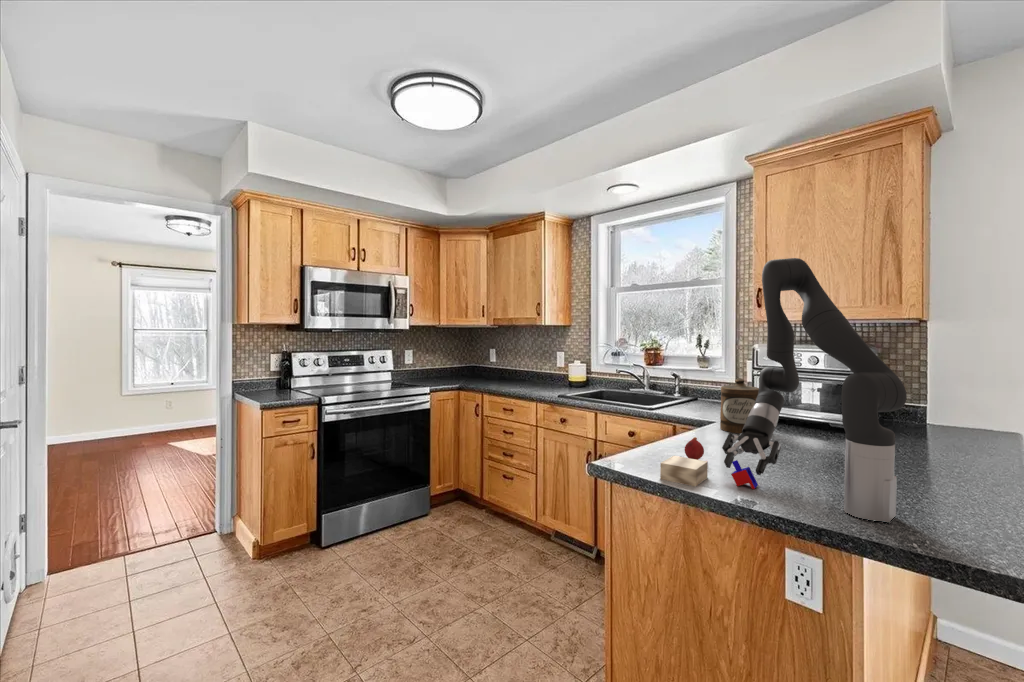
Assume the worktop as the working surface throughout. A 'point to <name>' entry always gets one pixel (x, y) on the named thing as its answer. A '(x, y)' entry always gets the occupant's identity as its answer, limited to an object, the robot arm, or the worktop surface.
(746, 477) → the toy building block
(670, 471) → the maple block
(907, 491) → the worktop surface
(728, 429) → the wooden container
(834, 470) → the worktop surface
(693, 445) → the onion
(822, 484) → the worktop surface
